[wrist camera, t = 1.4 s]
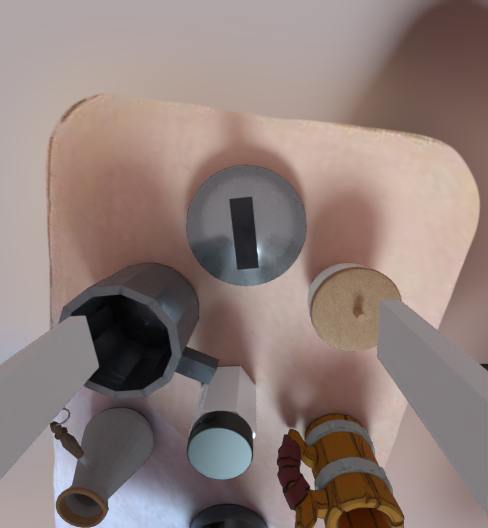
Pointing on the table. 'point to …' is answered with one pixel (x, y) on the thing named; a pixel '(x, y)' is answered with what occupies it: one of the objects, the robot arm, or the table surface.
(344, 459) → the mug
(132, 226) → the table surface
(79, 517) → the coffee pot
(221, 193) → the lid
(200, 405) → the jar
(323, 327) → the lidded jar
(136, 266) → the pot
